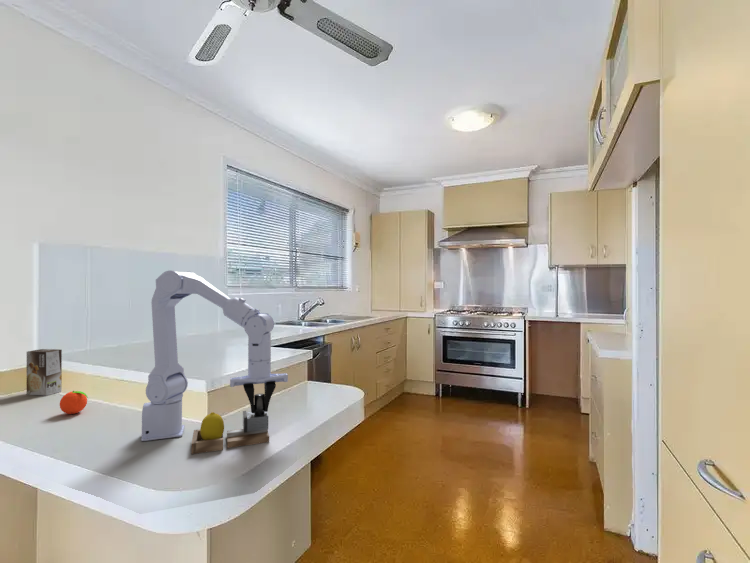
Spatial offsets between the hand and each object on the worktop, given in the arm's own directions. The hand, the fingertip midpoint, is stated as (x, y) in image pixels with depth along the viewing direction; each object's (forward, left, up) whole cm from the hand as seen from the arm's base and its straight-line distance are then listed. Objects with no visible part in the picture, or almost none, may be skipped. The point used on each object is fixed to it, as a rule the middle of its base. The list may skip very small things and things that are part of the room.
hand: (259, 411), depth 103 cm
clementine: (-52, +42, -7) cm, 67 cm away
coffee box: (-71, +75, -7) cm, 103 cm away
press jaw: (-1, 0, -4) cm, 4 cm away
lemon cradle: (-11, 0, -7) cm, 13 cm away
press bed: (-3, 0, -7) cm, 7 cm away
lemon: (-11, 0, -7) cm, 13 cm away
